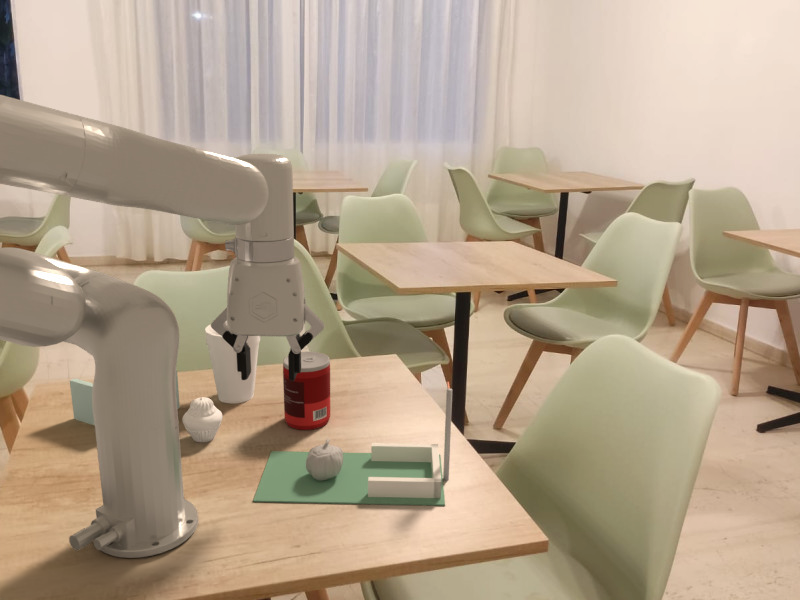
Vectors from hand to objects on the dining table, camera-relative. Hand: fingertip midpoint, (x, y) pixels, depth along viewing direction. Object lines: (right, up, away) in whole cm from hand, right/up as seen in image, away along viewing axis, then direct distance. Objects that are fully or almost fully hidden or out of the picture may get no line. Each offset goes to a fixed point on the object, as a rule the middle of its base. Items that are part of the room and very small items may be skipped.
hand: (269, 375), depth 102 cm
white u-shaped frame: (+19, -15, +4) cm, 25 cm away
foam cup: (-12, -7, +31) cm, 34 cm away
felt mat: (+11, -15, +4) cm, 19 cm away
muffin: (-13, -12, +15) cm, 23 cm away
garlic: (+7, -15, +4) cm, 17 cm away
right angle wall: (-28, -10, +24) cm, 38 cm away
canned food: (+3, -10, +22) cm, 24 cm away
